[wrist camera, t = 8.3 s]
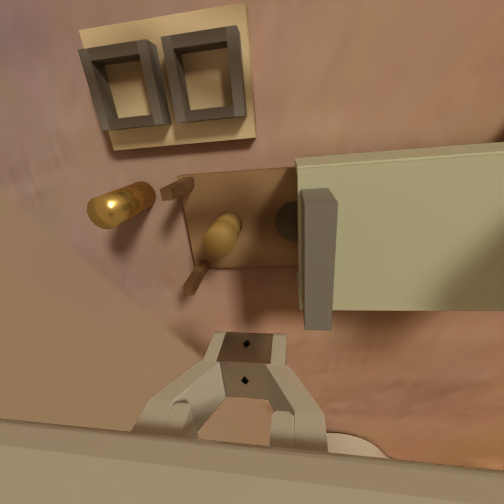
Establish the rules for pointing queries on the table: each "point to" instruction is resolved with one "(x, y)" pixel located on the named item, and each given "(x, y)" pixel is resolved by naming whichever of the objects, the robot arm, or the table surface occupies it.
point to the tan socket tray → (172, 78)
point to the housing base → (248, 205)
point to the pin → (120, 204)
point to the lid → (401, 231)
